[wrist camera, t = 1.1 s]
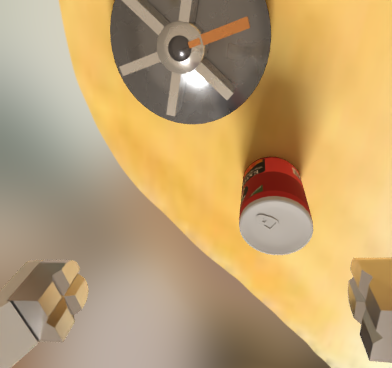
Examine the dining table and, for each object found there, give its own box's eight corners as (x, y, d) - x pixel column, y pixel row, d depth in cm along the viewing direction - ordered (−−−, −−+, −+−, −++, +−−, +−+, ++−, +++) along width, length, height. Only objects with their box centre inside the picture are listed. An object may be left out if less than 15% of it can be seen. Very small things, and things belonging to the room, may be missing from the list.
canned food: (252, 148, 39) (251, 190, 29) (310, 164, 38) (327, 213, 29) (235, 193, 43) (229, 243, 33) (287, 209, 42) (296, 263, 33)
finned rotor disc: (232, -52, 27) (229, -61, 24) (263, 82, 32) (264, 89, 29) (107, 7, 31) (92, 6, 28) (153, 117, 37) (144, 126, 34)
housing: (274, -68, 27) (277, -81, 24) (266, 117, 36) (267, 129, 32) (101, -43, 31) (80, -51, 27) (132, 120, 40) (120, 131, 36)
